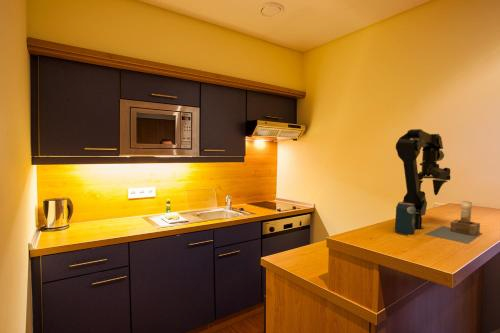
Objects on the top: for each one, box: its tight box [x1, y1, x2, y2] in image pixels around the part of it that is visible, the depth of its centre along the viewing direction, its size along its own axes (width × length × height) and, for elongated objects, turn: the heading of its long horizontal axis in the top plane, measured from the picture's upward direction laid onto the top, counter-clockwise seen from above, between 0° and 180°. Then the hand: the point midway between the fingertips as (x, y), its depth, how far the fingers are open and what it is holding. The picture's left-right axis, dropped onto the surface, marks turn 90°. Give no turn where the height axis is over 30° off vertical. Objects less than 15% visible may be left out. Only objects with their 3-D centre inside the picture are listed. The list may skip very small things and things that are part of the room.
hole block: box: [450, 218, 481, 236], centre depth 117 cm, size 8×8×4 cm
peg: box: [460, 200, 473, 224], centre depth 117 cm, size 3×3×12 cm
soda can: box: [394, 201, 416, 236], centre depth 114 cm, size 7×7×12 cm
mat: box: [424, 225, 483, 245], centre depth 114 cm, size 22×14×1 cm, turn 130°
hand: (427, 194), depth 133 cm, fingers open, 9 cm apart
